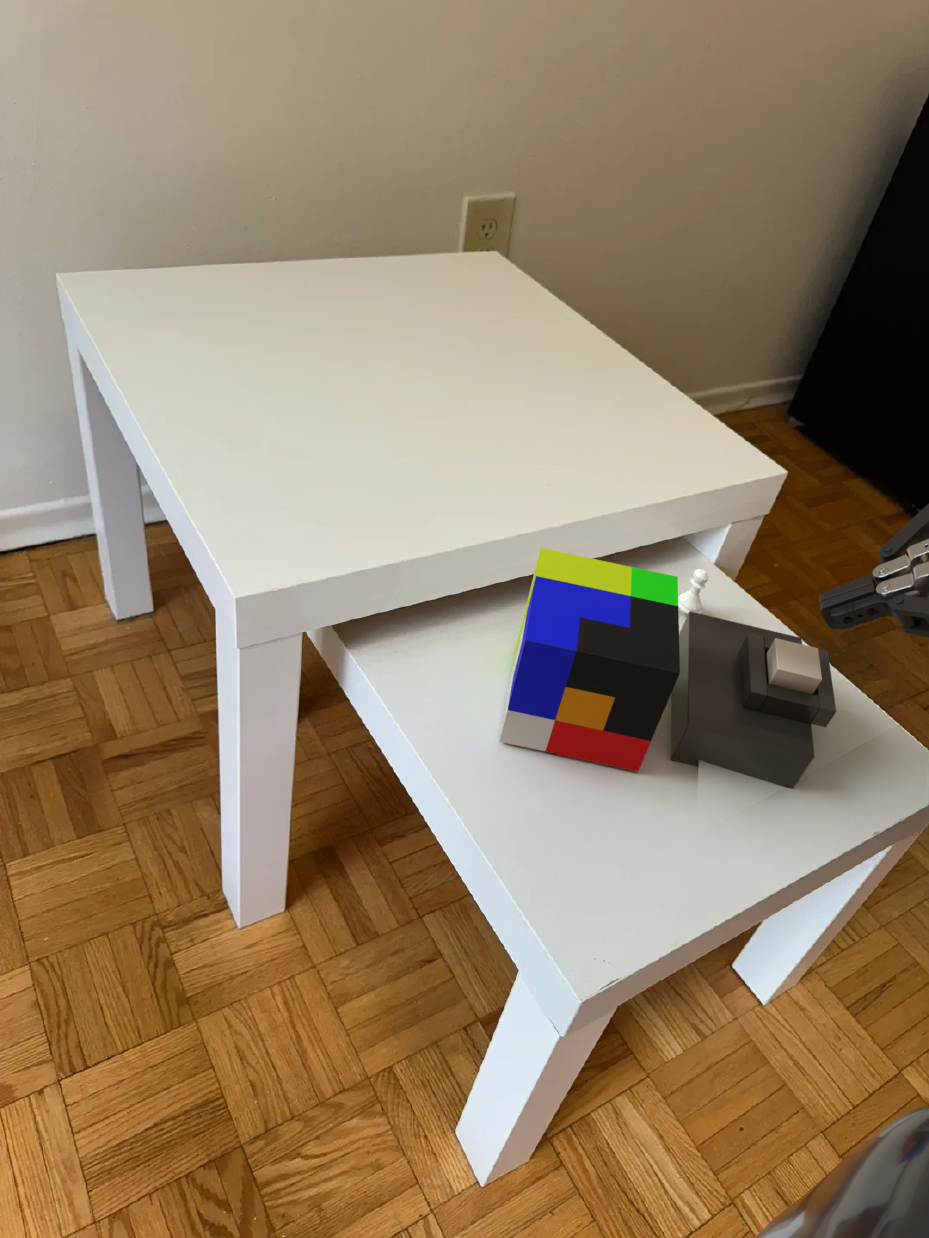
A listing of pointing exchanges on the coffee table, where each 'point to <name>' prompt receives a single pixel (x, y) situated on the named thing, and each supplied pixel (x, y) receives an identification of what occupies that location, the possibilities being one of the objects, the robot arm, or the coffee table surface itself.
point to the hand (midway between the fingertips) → (824, 613)
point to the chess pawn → (693, 593)
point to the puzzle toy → (593, 660)
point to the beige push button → (793, 666)
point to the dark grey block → (742, 703)
